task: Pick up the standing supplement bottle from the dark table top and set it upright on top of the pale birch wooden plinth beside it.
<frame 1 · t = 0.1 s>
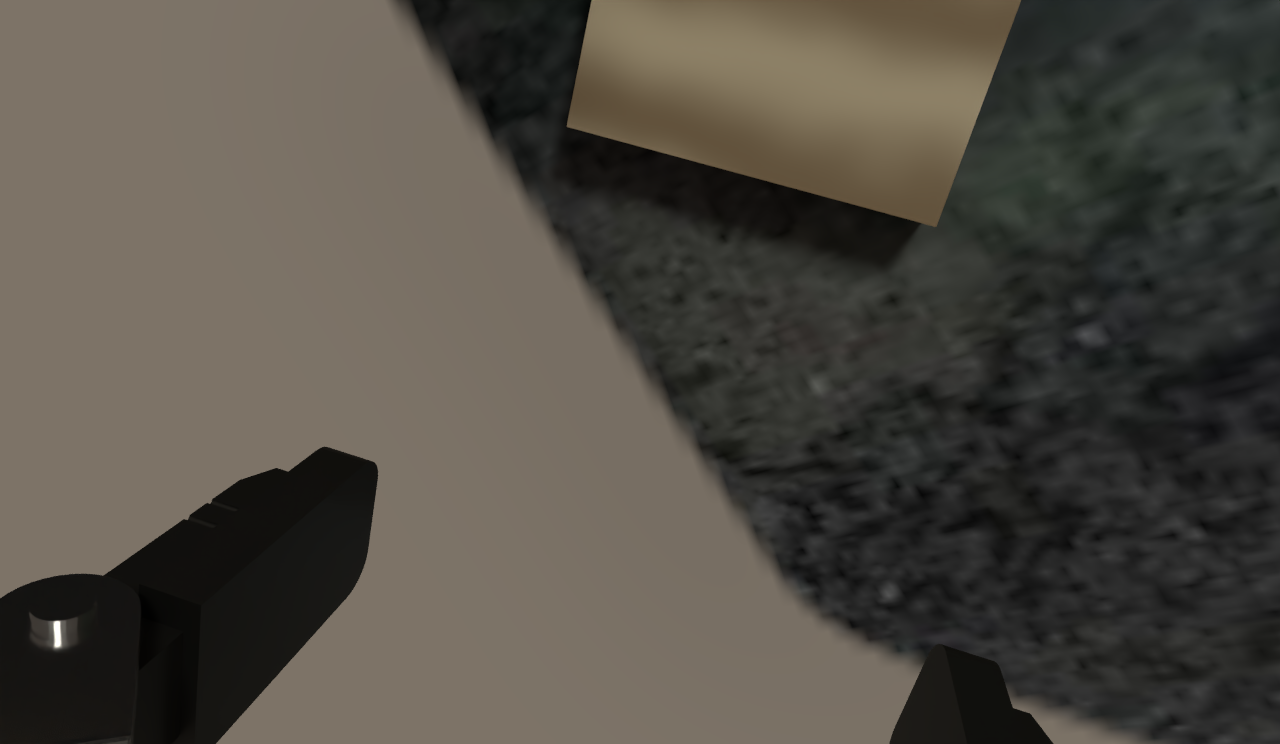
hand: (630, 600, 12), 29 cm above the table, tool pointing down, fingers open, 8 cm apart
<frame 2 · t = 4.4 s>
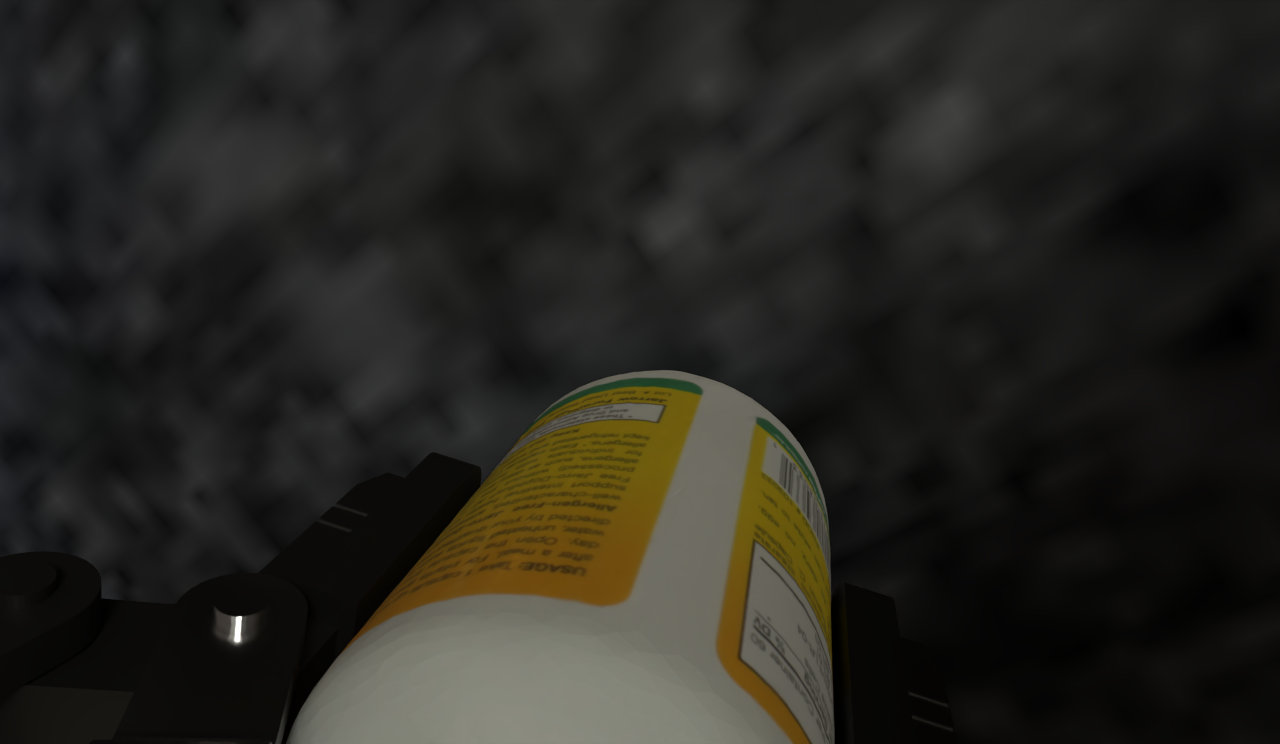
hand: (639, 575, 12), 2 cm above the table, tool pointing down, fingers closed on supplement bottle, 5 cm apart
supplement bottle: (665, 504, 14), on the table, touching gripper
when the fingers open (6 cm above the table, at t = 10.7 s): supplement bottle drops 1 cm, resting on birch plinth.
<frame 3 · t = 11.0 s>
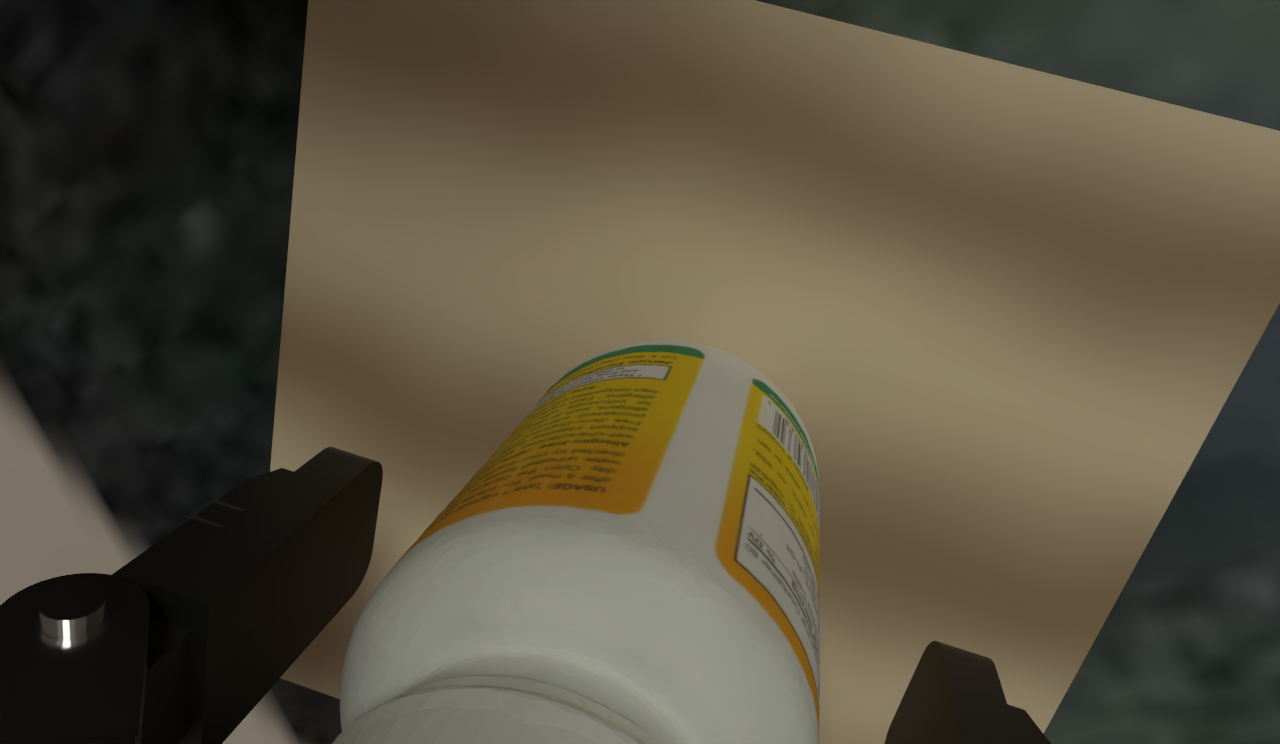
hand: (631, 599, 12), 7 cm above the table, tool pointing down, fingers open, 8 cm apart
supplement bottle: (670, 464, 16), point 3 cm above the table, touching birch plinth
birch plinth: (696, 412, 18), on the table
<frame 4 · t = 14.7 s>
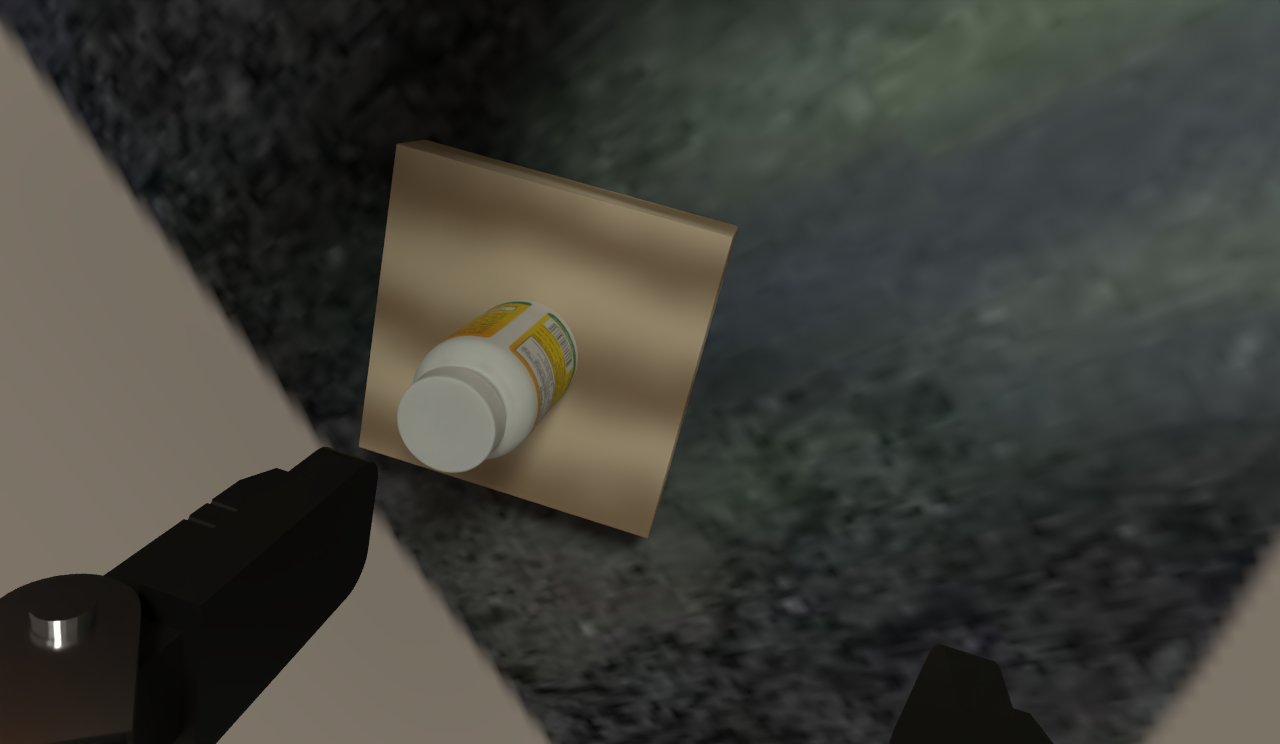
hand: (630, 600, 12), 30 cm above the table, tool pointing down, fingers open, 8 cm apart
supplement bottle: (527, 349, 41), point 3 cm above the table, touching birch plinth
birch plinth: (546, 334, 43), on the table
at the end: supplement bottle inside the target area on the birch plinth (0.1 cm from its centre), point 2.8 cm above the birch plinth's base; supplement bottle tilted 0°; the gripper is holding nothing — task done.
